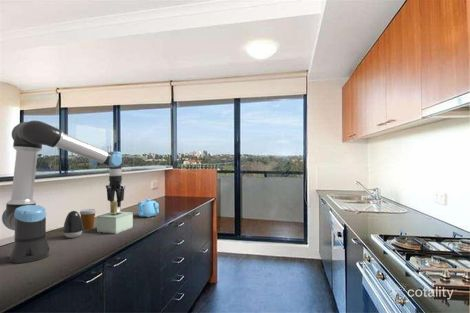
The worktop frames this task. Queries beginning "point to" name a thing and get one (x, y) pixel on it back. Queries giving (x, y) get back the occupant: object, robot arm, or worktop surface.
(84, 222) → the disposable coffee cup
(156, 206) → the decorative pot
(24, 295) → the worktop surface
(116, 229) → the money box
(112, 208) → the yellow block
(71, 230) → the black dome on base
